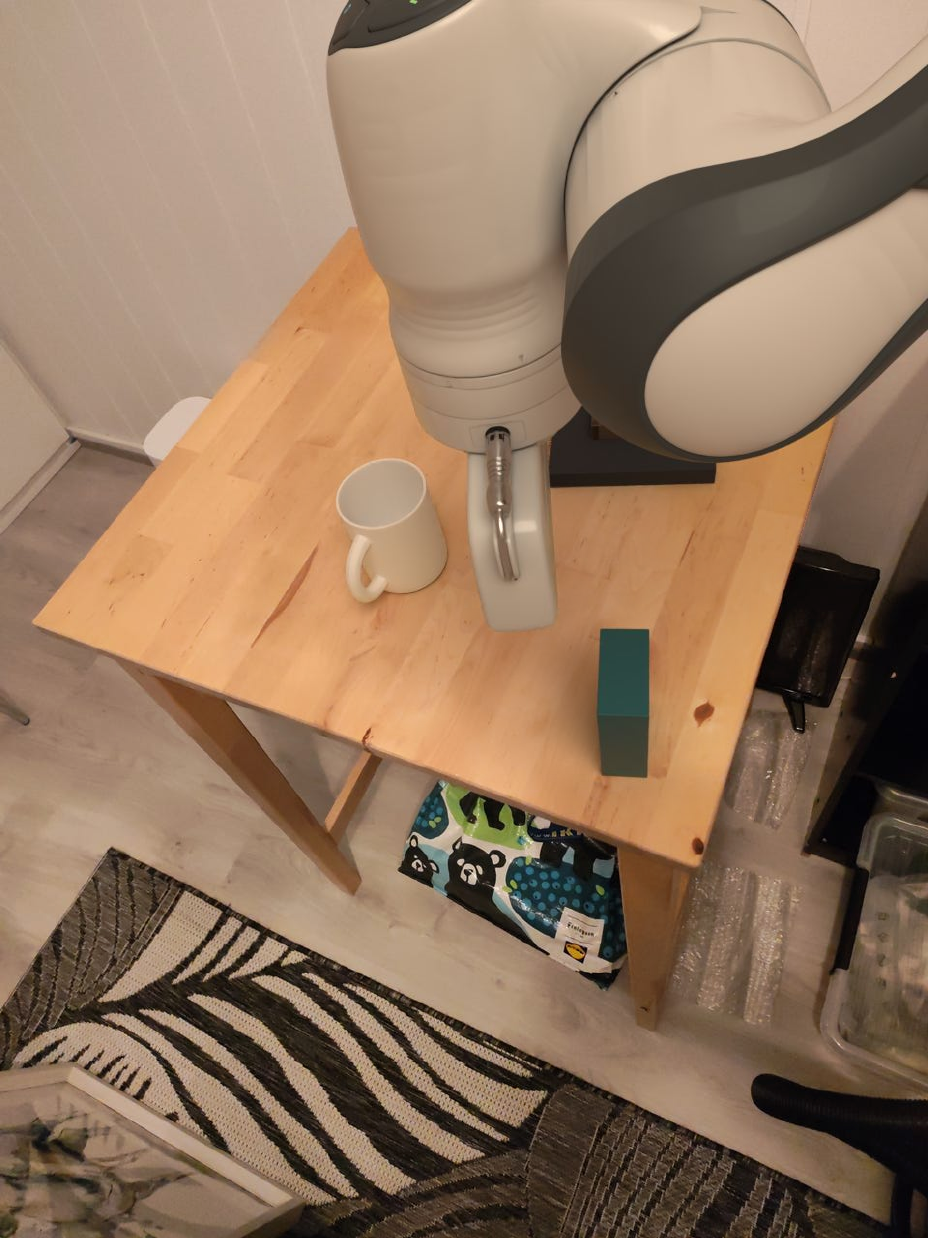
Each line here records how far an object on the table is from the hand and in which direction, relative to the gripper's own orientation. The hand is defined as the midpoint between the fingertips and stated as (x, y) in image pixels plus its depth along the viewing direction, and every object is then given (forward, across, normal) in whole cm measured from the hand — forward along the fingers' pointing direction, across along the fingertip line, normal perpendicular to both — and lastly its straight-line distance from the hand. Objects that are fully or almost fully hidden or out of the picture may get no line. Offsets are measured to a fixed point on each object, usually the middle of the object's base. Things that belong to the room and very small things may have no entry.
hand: (528, 540), depth 50 cm
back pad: (+22, -4, -5) cm, 23 cm away
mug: (+22, +15, +15) cm, 30 cm away
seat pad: (+22, +33, -10) cm, 41 cm away
